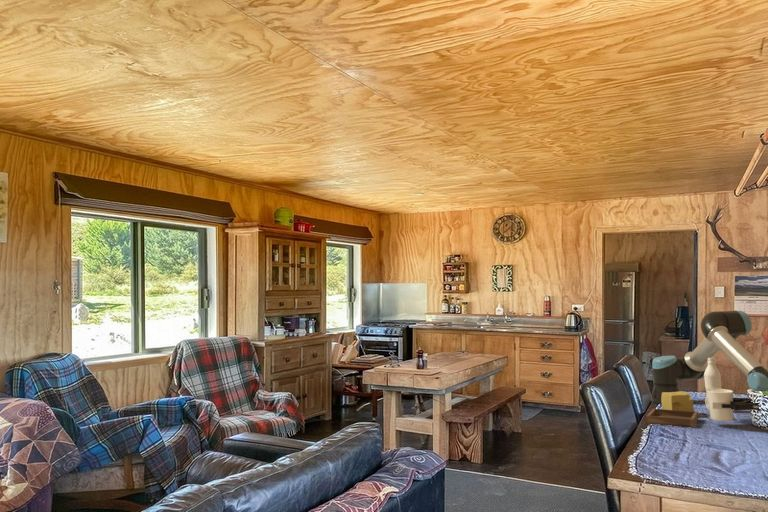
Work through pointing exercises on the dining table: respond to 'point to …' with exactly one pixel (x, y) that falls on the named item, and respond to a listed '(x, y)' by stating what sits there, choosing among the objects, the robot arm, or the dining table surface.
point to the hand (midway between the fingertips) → (708, 403)
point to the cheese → (677, 401)
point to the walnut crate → (672, 417)
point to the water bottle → (712, 377)
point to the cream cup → (720, 396)
